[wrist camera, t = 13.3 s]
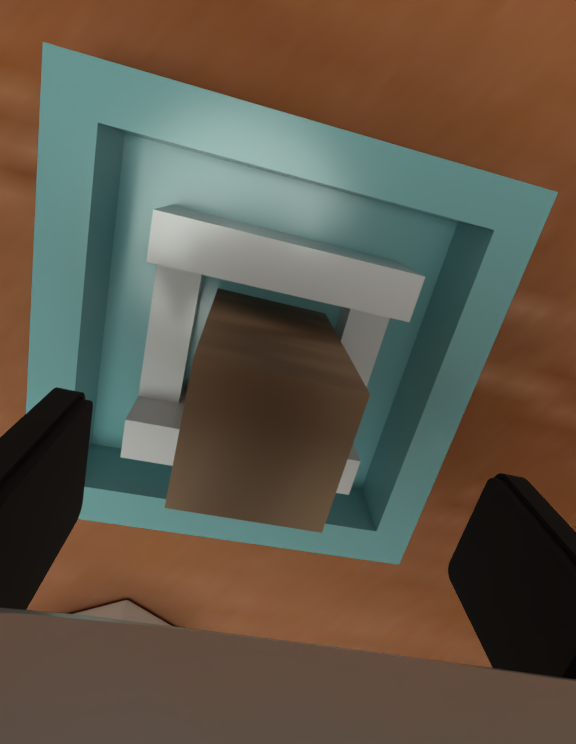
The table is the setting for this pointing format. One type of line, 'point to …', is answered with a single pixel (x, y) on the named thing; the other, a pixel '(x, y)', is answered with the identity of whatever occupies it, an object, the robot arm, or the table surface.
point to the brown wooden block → (266, 415)
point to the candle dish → (283, 188)
